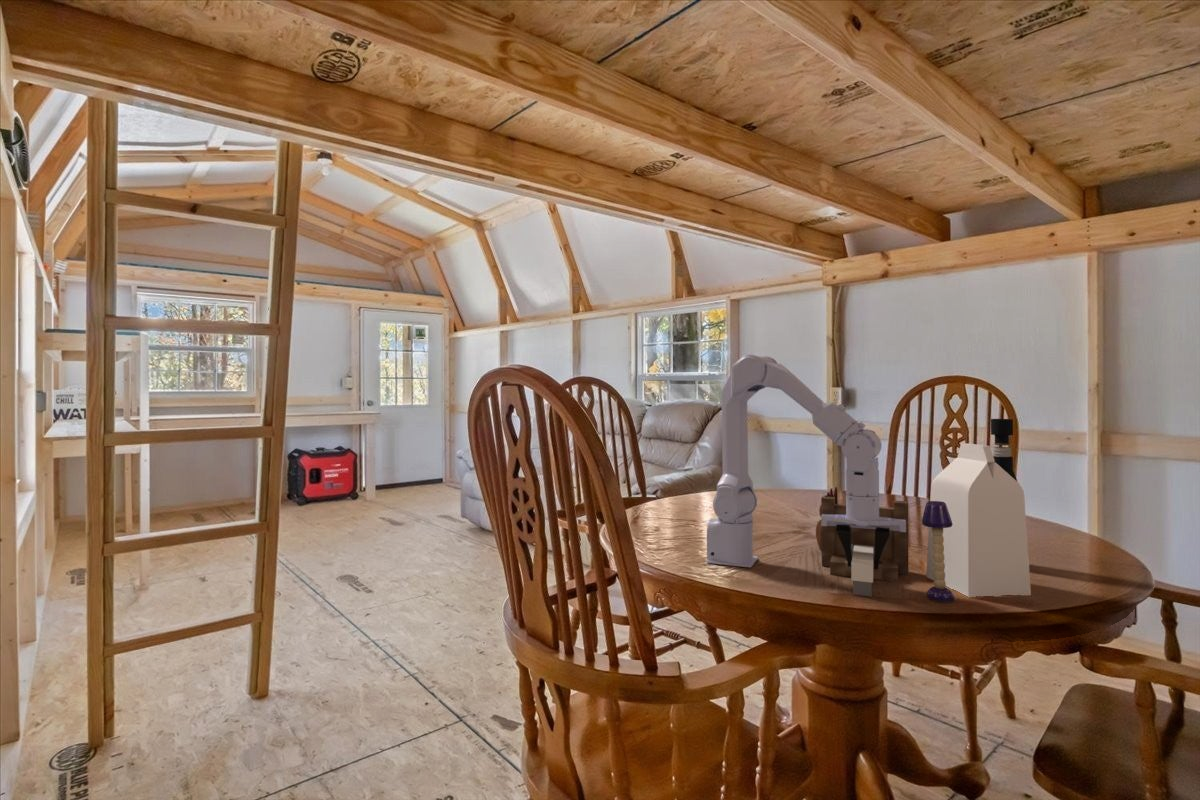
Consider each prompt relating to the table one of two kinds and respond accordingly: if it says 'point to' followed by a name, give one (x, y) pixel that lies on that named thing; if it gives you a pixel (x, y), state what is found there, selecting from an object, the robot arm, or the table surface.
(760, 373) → the robot arm
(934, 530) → the toy lamp
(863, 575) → the beige block
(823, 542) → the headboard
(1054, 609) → the table surface
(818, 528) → the wooden figurine
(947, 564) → the milk
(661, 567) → the table surface
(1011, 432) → the wine bottle
